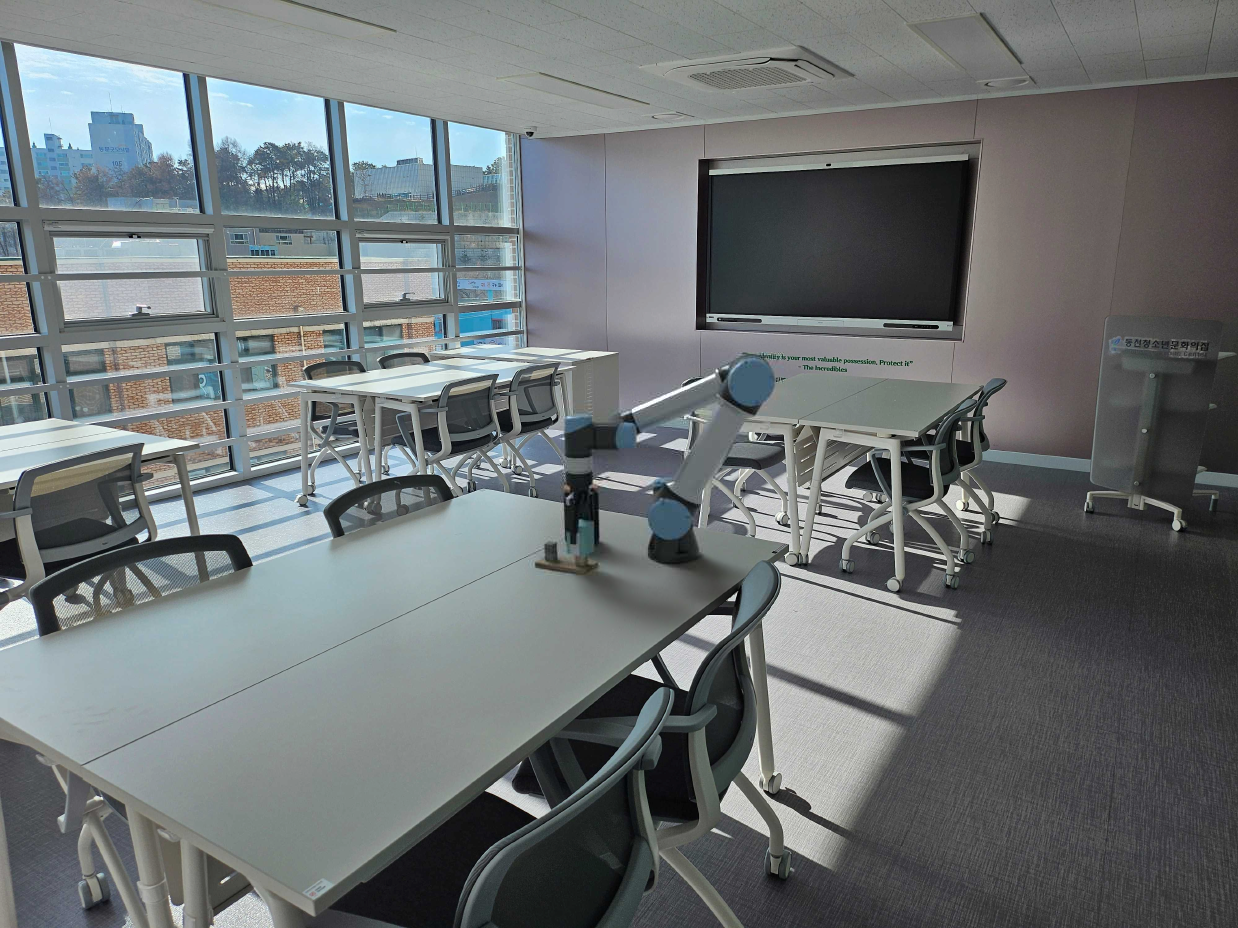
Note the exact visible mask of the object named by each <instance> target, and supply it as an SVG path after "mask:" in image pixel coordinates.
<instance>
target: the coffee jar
mask: <svg viewBox="0 0 1238 928" xmlns="http://www.w3.org/2000/svg"><path fill="white" fill-rule="evenodd" d="M589 487H592V488H595V492H594V507H595V521H594V546H596V545H597V544H598V543H599V541H600V537H601V536H600V507H599V506H600V501H599V498H600V497H599V492H598V490H599V485H598V484H597V483H594V482H593V484H592V485H591V486H589ZM562 488H563V489H562V490H563V492H564V493H563V498H564V497H568V496H569V492H570V487H569V486H567V485H566V484H565V485H563V487H562ZM577 506H578V505H577ZM563 518H564V519H563V520H564V523H563V524H564V528H565V505H564V504H563ZM579 519H581V520H582V518H581V512H580V517H579ZM564 541H565V542H566V544H567V532H565V531H564Z"/></svg>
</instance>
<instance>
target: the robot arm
mask: <svg viewBox="0 0 1238 928" xmlns="http://www.w3.org/2000/svg"><path fill="white" fill-rule="evenodd" d="M775 385H776V378H775V373H774V371H773V368H772V366H771V365H770V363H769V362H768V361H767V360H766V358H764V357H762V356H761V355H758V354H756V353H746V354H743V355H740V356H739V357H736V358H735V359H733V360H732V361H730V362H728V363H726V364H724V365H721V366H719V367H717V368H716V369H715V370H714V372H713V374H710V375H708V376H705V377H703V378H701V379H699V380H696V381H694V382H691V383H688V384H687V385H685V386H682V387H679V388H677V389H676V390H675V389H674V390H672V391H670V392H668V393H666V394H663V395H660V396H659V397H657V398H654V399H651V400H649V401H647V402H644V403H642V404H640V405H637V406H634V407H632V408H631V409H628V410H626V411H622V412H617V413H616V414H613V415H612V416H611V417H610V418H609V419H608V422H596V421H595V422H594V421H593V420H592V416H591V415H590V414H586V413H574V414H573V413H572V414H568V415H567V416H566V417H565V418H564V431H563V437H564V461H565V463H564V465H565V474H564V475H565V485H567V486H569V487H570V492H569V496H568V497H564V496H563V506H564V505H565V527H564V533H565V532H569V533H570V554H569V555H572V556H575V555H577V556H579V555H580V533H579V532H578V526H579V517H580V512H581V518H582V520H588V521H595V507H594V492H595V488H592V487H589V486H591V485H592V484H593V483H594V475H593V474H594V473H593V468H594V466H593V464H594V463H593V460H594V459H593V451H613V452H614V451H620V452H625V451H626V452H627V451H634V450H635V449H636V447H637V441H638V440H637V439H638V438H637V437H638V435H639V436H640V434H643V433H645V432H647V431H650V430H652V429H654V428H657V427H660V426H662V425H665V424H667V423H670V422H672V421H674V420H676V419H680V418H682V417H684V416H687V415H689V414H691V413H693V412H696V411H698V410H701V409H704V408H706V407H708V406H710V405H713V404H715V403H717V402H718V403H717V405H716V406H715V408H713V411H712V413H711V415H710V416H709V417H708V419H707V421H706V422H705V425H704V426H703V428H702V429H701V431H700V432H699V434H698V436H697V438H696V440H695V441H694V443H693V445H692V446H691V448H690V449H689V451H688V453H687V455H686V456H685V458H684V460H683V462H682V464H681V465H680V467H679V469H678V470H677V472H676V473H675V475H674V477H659V478H656V479H654V481H653V483H652V487H651V489H652V501H651V503H650V507H648V508H649V509H648V512H647V522H648V526H649V528H650V530H651V532H652V533H651V535H650V539H649V542H648V545H647V556H648V558H649V559H651V560H653V561H656V562H660V563H666V564H667V563H668V564H681V563H682V564H683V563H687V562H688V563H689V562H692V561H695V560H696V559H698V558H699V556H700V545H699V543H698V540H697V537H696V534H695V531H694V517H695V516H696V514H697V513H698V511H699V509H700V508H701V506H702V504H703V502H704V501H703V497H702V493H703V492H704V490H705V488H706V487H707V485H708V484H709V481H710V480H712V477H713V475H714V473H715V472H716V470H717V469H718V467H719V466H720V464H721V462H722V461H723V459H724V457H725V456H726V453H727V452H728V450H730V447H731V446H732V444H733V443H734V440H735V438H737V436H738V434H739V432H740V430H741V429H742V427H743V425H744V424H745V422H746V421H747V419H750V418H754V417H756V416H757V414H758V412H759V411H760V409H761V407H762V406H763V404H764V402H766V401H767V400H768V399H769V398H770V397H771V395H772V394H773V392H774V389H775V387H776V386H775ZM577 505H578V506H577Z"/></svg>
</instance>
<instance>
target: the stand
mask: <svg viewBox="0 0 1238 928" xmlns="http://www.w3.org/2000/svg"><path fill="white" fill-rule="evenodd" d="M543 548H544V557H542V558H540V559H539V560H537V561H534V567H536V568H542V569H548V570H552V571H553V570H554V571H560V572H566V573H571V574H576V575H577V574H579V575H586V574H588V573H589V572H590V571H592V570H594V569H595V568H596V567H598V566H599V561H597V560H590V559H588V558H589V554H588V555H587V556H585V557H584V556H577V555H574V557H571V556H566V555H565V556H564V555H559V554H558V542H557V541H552V540H551V541H550V540H549V541H547V542H544V547H543Z"/></svg>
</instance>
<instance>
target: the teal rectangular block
mask: <svg viewBox="0 0 1238 928" xmlns="http://www.w3.org/2000/svg"><path fill="white" fill-rule="evenodd" d="M578 532H579V533H580V555H579V556H584V557H585V556H587V555H588V556H589V554H591V553H593V552H595V545H594V521H588V520H581V519H579V526H578ZM566 554H567V555H571V554H570V533H569V532H567V543H566Z"/></svg>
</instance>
